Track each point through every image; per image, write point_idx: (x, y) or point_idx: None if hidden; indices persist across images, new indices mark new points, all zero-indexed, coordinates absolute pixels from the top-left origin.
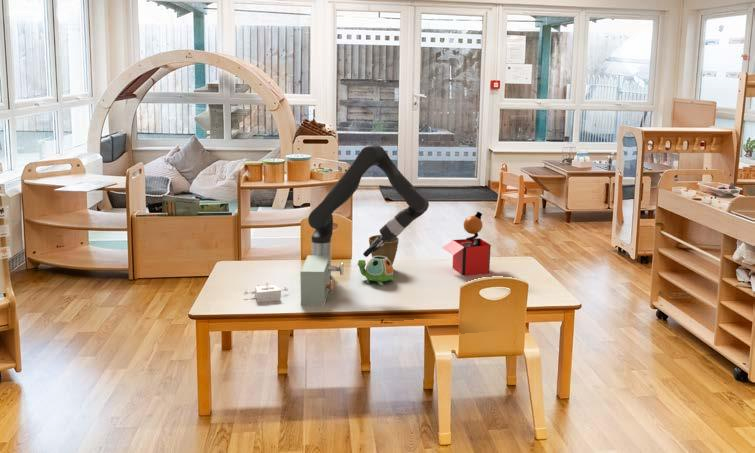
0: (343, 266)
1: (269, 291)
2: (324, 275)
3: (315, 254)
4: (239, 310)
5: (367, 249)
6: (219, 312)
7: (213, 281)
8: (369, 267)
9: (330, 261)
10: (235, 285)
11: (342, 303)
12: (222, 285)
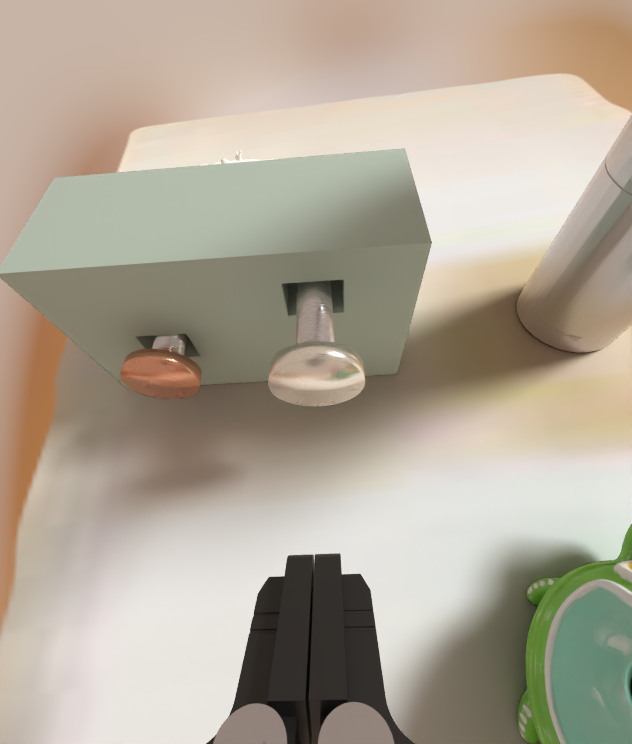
0: (353, 380)
1: None
2: (57, 297)
3: (584, 193)
4: None
5: (299, 654)
6: (124, 157)
7: (381, 96)
8: (611, 610)
9: (629, 297)
10: (354, 133)
11: (141, 466)
12: (349, 115)
